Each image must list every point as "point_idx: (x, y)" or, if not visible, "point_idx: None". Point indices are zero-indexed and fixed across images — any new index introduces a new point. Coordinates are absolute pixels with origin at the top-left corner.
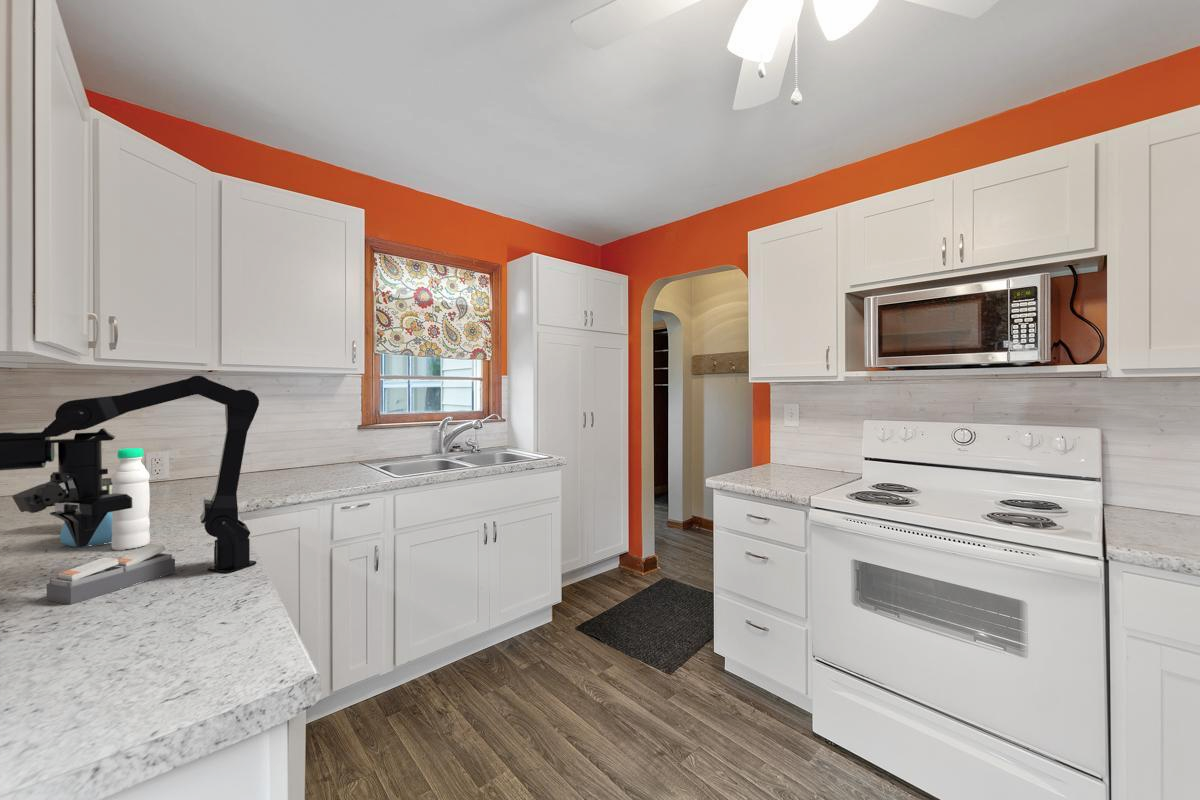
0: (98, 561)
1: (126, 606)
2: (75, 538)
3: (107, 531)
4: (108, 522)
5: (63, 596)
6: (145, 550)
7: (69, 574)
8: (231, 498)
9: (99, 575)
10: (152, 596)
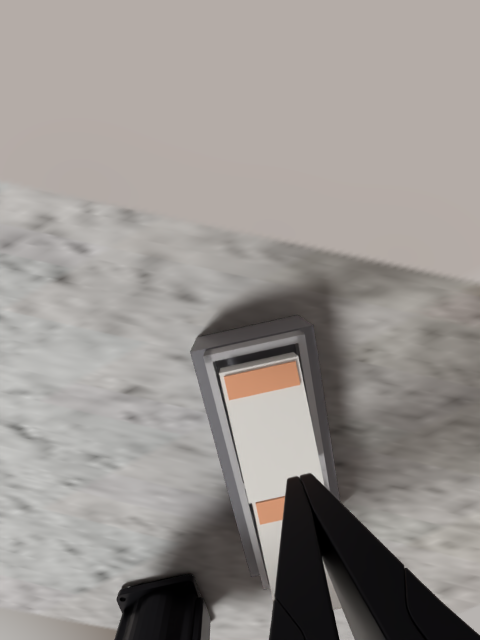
0: (295, 463)
1: (54, 401)
2: (322, 517)
3: None
4: None
5: (227, 335)
6: None
7: (239, 373)
8: None
9: (222, 426)
10: (86, 453)
